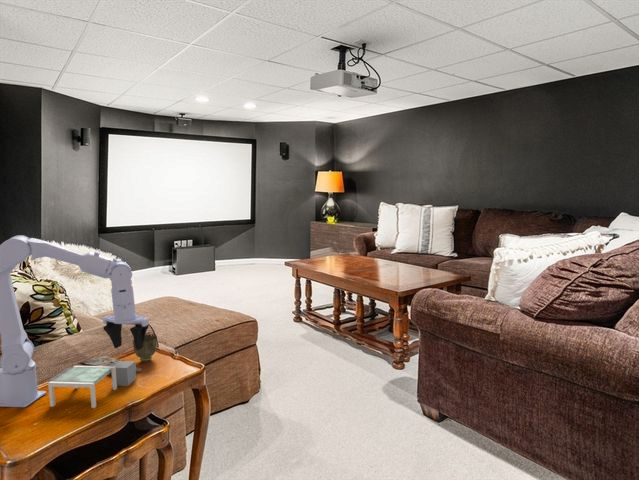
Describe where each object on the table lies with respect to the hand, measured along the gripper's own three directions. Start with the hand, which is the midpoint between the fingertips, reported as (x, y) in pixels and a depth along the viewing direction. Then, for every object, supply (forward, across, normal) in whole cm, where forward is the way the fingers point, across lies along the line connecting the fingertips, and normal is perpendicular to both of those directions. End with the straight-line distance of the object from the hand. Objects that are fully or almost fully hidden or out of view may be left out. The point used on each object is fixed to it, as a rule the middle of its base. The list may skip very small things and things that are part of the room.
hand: (128, 347), depth 124 cm
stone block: (+10, 0, +2) cm, 10 cm away
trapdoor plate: (+4, +5, +13) cm, 14 cm away
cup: (+10, +5, -12) cm, 16 cm away
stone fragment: (+10, +14, -5) cm, 18 cm away
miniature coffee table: (+9, +4, +13) cm, 16 cm away
